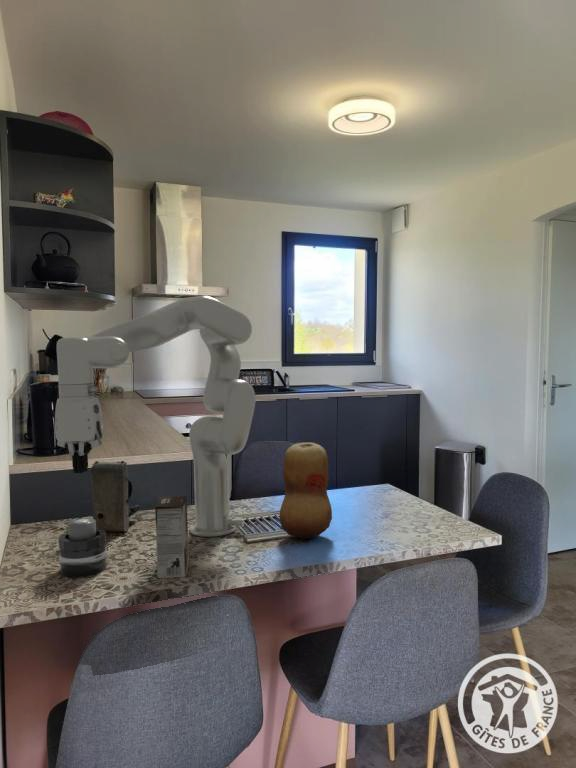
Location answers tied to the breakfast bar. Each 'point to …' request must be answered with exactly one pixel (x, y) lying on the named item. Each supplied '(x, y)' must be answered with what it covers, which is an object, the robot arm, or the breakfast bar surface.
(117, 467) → the vintage camera
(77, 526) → the white rounded cube
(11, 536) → the breakfast bar surface
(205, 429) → the robot arm
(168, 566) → the coffee box
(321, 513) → the butternut squash
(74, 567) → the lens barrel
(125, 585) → the breakfast bar surface
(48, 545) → the breakfast bar surface
